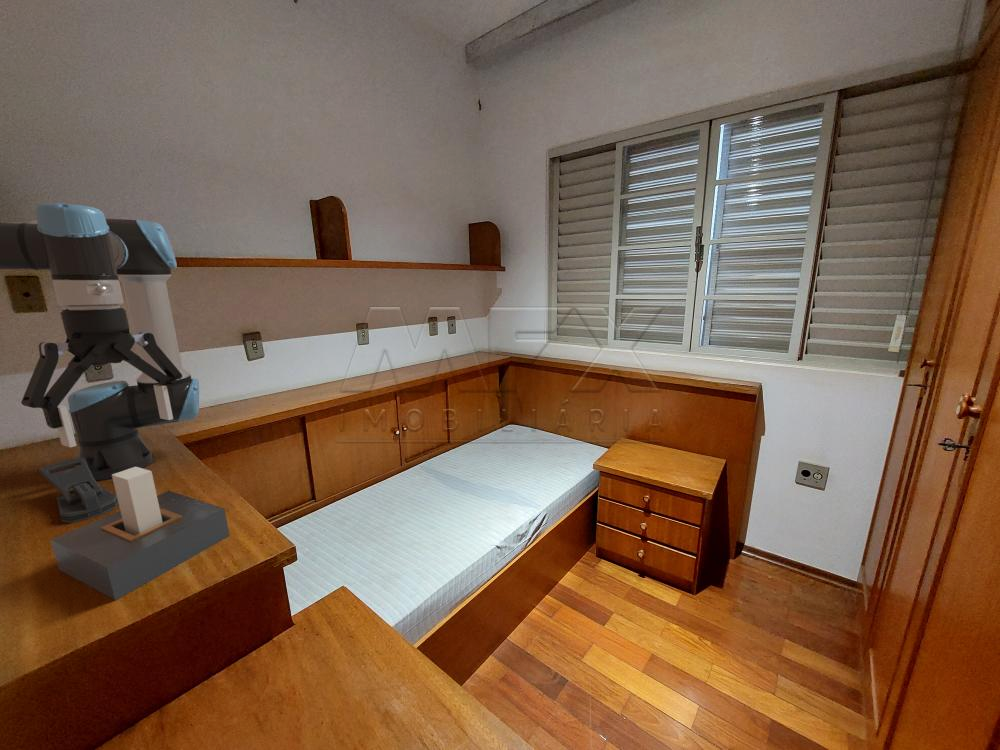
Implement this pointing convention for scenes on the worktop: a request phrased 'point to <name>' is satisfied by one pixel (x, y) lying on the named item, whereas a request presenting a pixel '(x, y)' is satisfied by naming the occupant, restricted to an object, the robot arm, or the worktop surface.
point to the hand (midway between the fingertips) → (122, 431)
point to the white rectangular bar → (137, 499)
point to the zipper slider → (78, 491)
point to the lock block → (139, 545)
